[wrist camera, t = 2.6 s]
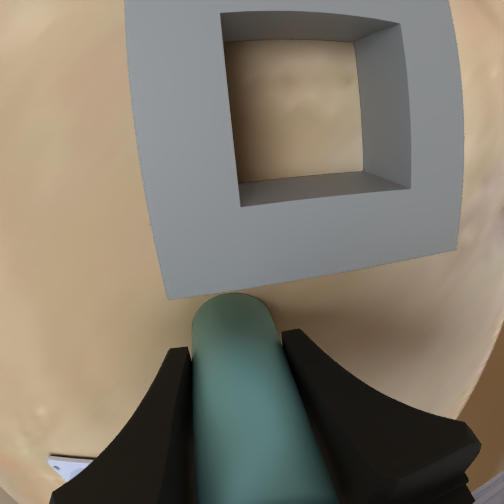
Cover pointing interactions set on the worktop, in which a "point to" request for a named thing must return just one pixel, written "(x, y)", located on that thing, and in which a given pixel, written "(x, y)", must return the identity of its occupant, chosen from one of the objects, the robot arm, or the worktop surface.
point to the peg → (250, 412)
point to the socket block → (306, 187)
